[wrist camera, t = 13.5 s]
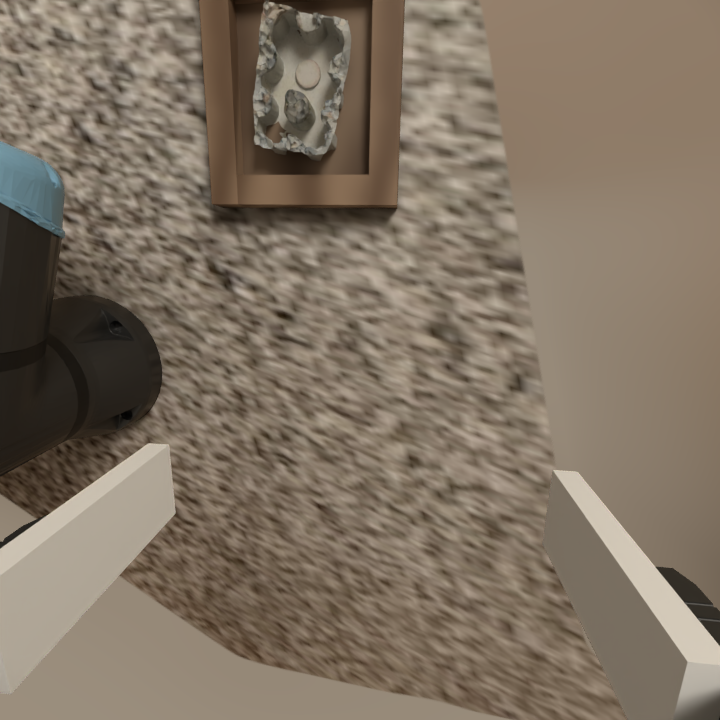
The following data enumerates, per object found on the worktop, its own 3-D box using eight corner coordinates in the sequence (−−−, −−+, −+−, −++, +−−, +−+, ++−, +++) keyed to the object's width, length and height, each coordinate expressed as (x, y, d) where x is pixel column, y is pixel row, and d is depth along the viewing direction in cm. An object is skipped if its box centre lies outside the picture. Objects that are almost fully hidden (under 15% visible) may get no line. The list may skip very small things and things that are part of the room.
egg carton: (278, 19, 36) (262, -12, 32) (362, 38, 35) (356, 10, 31) (256, 150, 38) (238, 137, 34) (334, 170, 38) (326, 159, 34)
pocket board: (223, 207, 41) (211, 204, 38) (210, -23, 36) (196, -43, 34) (397, 208, 39) (396, 205, 36) (405, -33, 34) (405, -55, 32)
